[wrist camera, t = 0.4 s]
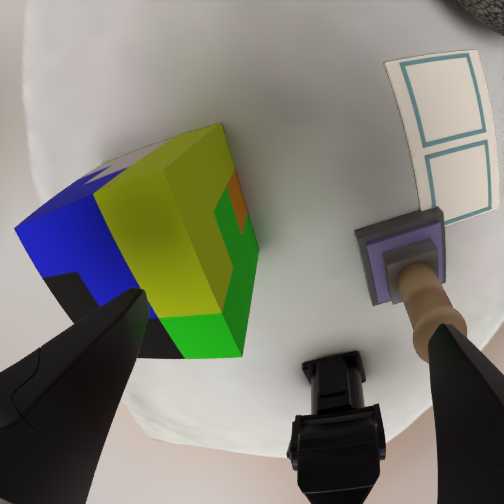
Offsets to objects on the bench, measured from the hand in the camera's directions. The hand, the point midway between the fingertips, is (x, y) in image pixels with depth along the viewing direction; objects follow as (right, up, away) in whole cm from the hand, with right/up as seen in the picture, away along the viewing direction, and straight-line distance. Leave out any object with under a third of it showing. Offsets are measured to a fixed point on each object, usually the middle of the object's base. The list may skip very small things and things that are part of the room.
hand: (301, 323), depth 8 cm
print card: (+13, +10, +8) cm, 18 cm away
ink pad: (+11, +2, +13) cm, 17 cm away
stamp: (+11, +1, +12) cm, 16 cm away
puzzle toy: (-7, +6, +14) cm, 16 cm away
